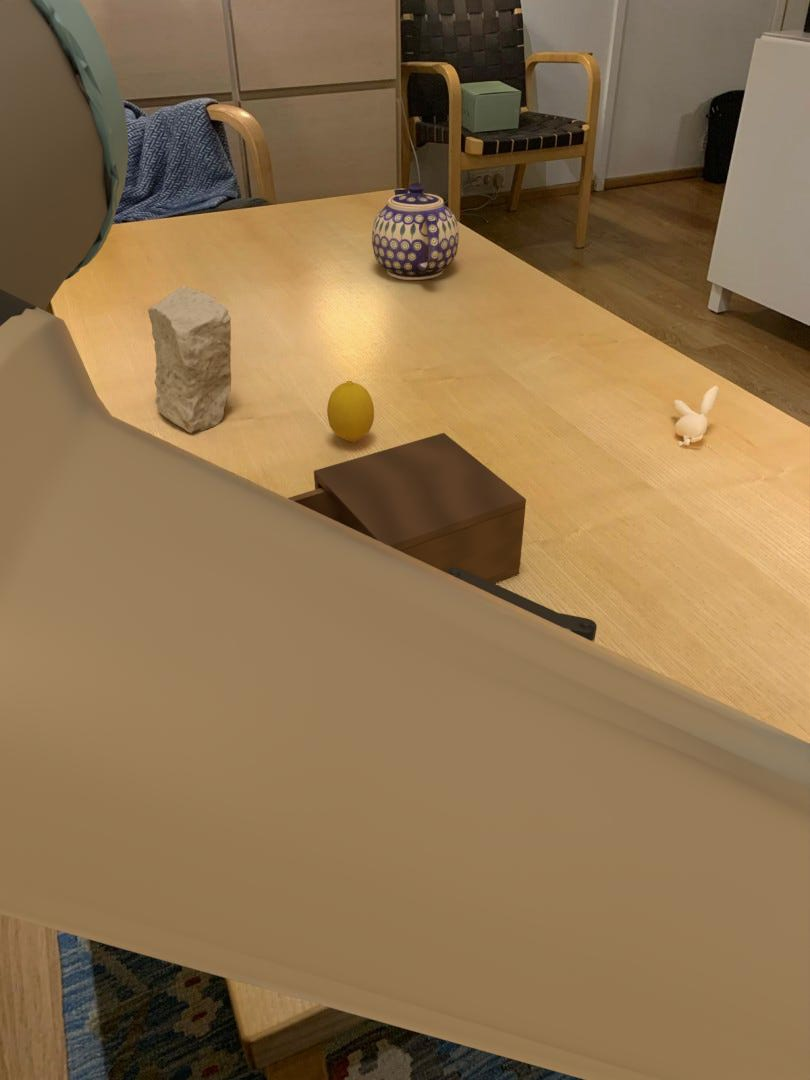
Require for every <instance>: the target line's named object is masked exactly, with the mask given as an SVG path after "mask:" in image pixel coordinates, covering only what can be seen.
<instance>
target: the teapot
mask: <svg viewBox="0 0 810 1080" xmlns="http://www.w3.org/2000/svg"><path fill="white" fill-rule="evenodd" d="M424 189H425V186H424V184H423V183H420V182H413V183H411V184H409V185H408V188H395V189H394V190H393V191H394V195H393V196H391V197H389V198H388V200H387V203H386V205H384V206H383V208H382V209H380V210H379V211H378V213H377V214H376V216H375V218H374V221H373V225H372V231H371V243H372V244H371V245H372V250H373V255H374V258H375V260H376V262H377V263H378V264H379V265H380V266H381V267H382V268H383V269H385V270H386V273H387V274H388V276H390V277H392V278H394V279H397V280H402V281H403V280H404V281H425V280H431V279H434V278H438V277H439V276H441V275H442V274H443V273H444V270H445V269H446V268H448V267H449V266H450V265H451V264H452V263H453V261H454V260H455V258H456V255H457V252H458V249H459V239H460V234H459V224H458V220H457V218H456V216H455V214H454V213H453V211H452V210H451V209H449V207H447V206H446V204H445V203H444V202H445V201H444V199H443V198H442V197H441V196H438V195H437V194H432V193H424Z"/></svg>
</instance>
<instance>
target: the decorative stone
mask: <svg viewBox="0 0 810 1080" xmlns="http://www.w3.org/2000/svg"><path fill="white" fill-rule="evenodd" d="M147 310H148V318H149V321H150V324H151V335H152V338H153V340H154V353H155V361H156V362H155V363H156V366H155V371H154V373H155V379H154V385H155V388H156V396H155V397H156V398H155V404H156V407H157V411H158V412H159V413H160V414H161V415H162V416H163V417H165V419H167V420H168V421H170V422H172V423H173V424H175V425H176V426H178V427H179V428H181V429H183V430H184V431H186V432H187V433H189V434H194V433H195V434H196V433H197V432H200V431H201V432H202V431H206V430H209V429H210V428H211V429H212V428H214V427H216V426H218V425H220V423H221V422H222V420H223V419H224V414H225V406H226V404H227V401H228V397H229V395H230V393H231V391H232V370H231V369H232V367H231V360H232V359H231V353H232V346H231V339H232V327H231V324H232V323H231V320H232V318H231V316H230V315H229V310H228V308H227V307H226V306H224V305H223V304H222V303H221V302H219V301H218V300H217V299H216V297H215V296H213V295H212V294H210V293H206V292H205V291H203V290H198V289H194V288H193V287H188V286H186V285H182V286H181V287H179V288H177V289H176V290H174V291H173V292H171V293H169V294H168V295H166V296H165V297H164V298H163V299H161V300H160V301H158V302H156V303H154V304H153V305H152V306H150V307H149V308H148V309H147Z"/></svg>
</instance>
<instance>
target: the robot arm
mask: <svg viewBox="0 0 810 1080" xmlns="http://www.w3.org/2000/svg"><path fill="white" fill-rule="evenodd" d="M128 131H129V130H128V122H127V115H126V109H125V103H124V100H123V95H122V93H121V91H120V88H119V84H118V81H117V78H116V73H115V69H114V66H113V64H112V62H111V59H110V57H109V55H108V52H107V50H106V47H105V43H104V41H103V39H102V37H101V35H100V33H99V31H98V29H97V27H96V25H95V23H94V22H93V20H92V18H91V16H90V14H89V12H88V10H87V9H86V7H85V6H84V4H83V3H82V0H0V915H2V916H5V917H8V918H12V919H16V920H19V921H23V922H27V923H30V924H33V925H37V926H41V927H45V928H47V929H50V930H55V931H58V932H61V933H66V934H68V935H72V936H76V937H80V938H83V939H86V940H90V941H94V942H97V943H100V944H104V945H107V946H111V947H115V948H118V949H122V950H124V951H129V952H133V953H136V954H138V955H143V956H147V957H150V958H153V959H157V960H159V961H160V960H161V961H165V962H168V963H171V964H175V965H178V966H181V967H186V968H189V969H192V970H196V971H200V972H203V973H207V974H210V975H214V976H216V977H217V976H218V977H221V978H224V979H228V980H231V981H235V982H238V983H241V984H242V983H243V984H245V985H249V986H253V987H256V988H259V989H263V990H267V991H270V992H273V993H276V994H277V993H278V994H280V995H284V996H288V997H291V998H295V999H298V1000H303V1001H305V1002H308V1003H309V1002H310V1003H312V1004H316V1005H320V1006H323V1007H327V1008H330V1009H334V1010H337V1011H341V1012H344V1013H347V1014H352V1015H355V1016H359V1017H361V1018H366V1019H369V1020H372V1021H376V1022H380V1023H383V1024H386V1025H390V1026H394V1027H397V1028H401V1029H405V1030H408V1031H411V1032H415V1033H419V1034H423V1035H425V1036H430V1037H432V1038H436V1039H440V1040H443V1041H447V1042H451V1043H454V1044H457V1045H458V1044H459V1045H460V1046H461V1045H462V1046H464V1047H468V1048H472V1049H475V1050H478V1051H482V1052H486V1053H490V1054H492V1055H497V1056H500V1057H504V1058H507V1059H511V1060H515V1061H517V1062H521V1063H524V1064H528V1065H532V1066H535V1067H539V1068H542V1069H546V1070H548V1071H549V1070H550V1071H552V1072H556V1073H560V1074H564V1075H567V1076H570V1077H574V1078H577V1079H581V1080H810V743H809V742H808V741H806V740H804V739H801V738H799V737H797V736H795V735H793V734H790V733H788V732H786V731H784V730H782V729H779V728H777V727H776V726H774V725H771V724H770V723H767V722H765V721H763V720H761V719H758V718H756V717H755V716H753V715H750V714H748V713H746V712H743V711H741V710H739V709H737V708H735V707H733V706H730V705H729V704H726V703H724V702H722V701H720V700H718V699H715V698H714V697H711V696H709V695H708V694H706V693H703V692H701V691H699V690H697V689H694V688H692V687H690V686H688V685H686V684H684V683H682V682H680V681H678V680H675V679H673V678H671V677H670V676H668V675H665V674H662V673H660V672H658V671H657V670H655V669H652V668H650V667H648V666H645V665H644V664H641V663H639V662H637V661H635V660H633V659H630V658H629V657H626V656H624V655H622V654H620V653H618V652H617V651H614V650H611V649H609V648H607V647H605V646H604V645H601V644H599V643H597V642H595V640H596V635H597V629H598V626H597V623H596V621H594V620H592V619H590V618H588V617H587V618H586V617H583V616H582V617H581V616H577V615H571V614H566V613H561V612H557V611H555V610H553V609H551V608H549V607H547V606H544V605H543V604H540V603H538V602H536V601H533V600H531V599H529V598H527V597H525V596H523V595H521V594H519V593H516V592H514V591H511V590H509V589H507V588H505V587H503V586H501V585H498V584H497V583H492V582H490V581H487V580H485V579H483V578H481V577H479V576H476V575H474V574H472V573H470V572H468V571H465V570H463V569H461V568H458V567H451V568H448V569H447V570H446V571H445V572H443V571H441V570H439V569H437V568H435V567H433V566H431V565H428V564H426V563H424V562H422V561H420V560H418V559H416V558H414V557H411V556H409V555H407V554H405V553H403V552H401V551H399V550H397V549H394V548H392V547H390V546H388V545H386V544H384V543H382V542H379V541H377V540H375V539H373V538H371V537H369V536H367V535H365V534H362V533H360V532H358V531H356V530H354V529H352V528H350V527H348V526H345V525H343V524H341V523H339V522H337V521H335V520H333V519H330V518H328V517H326V516H324V515H322V514H320V513H318V512H316V511H313V510H311V509H309V508H307V507H305V506H303V505H301V504H299V503H296V502H294V501H292V500H290V499H288V498H289V497H286V496H284V495H282V494H280V493H277V492H275V491H273V490H271V489H269V488H266V487H264V486H262V485H260V484H258V483H256V482H253V481H252V480H250V479H247V478H245V477H243V476H241V475H239V474H236V473H235V472H232V471H231V470H228V469H226V468H224V467H222V466H219V465H218V464H216V463H213V462H212V461H209V460H208V459H205V458H203V457H201V456H198V455H196V454H194V453H193V452H190V451H189V450H186V449H183V448H182V447H179V446H177V445H175V444H173V443H171V442H169V441H166V440H165V439H162V438H160V437H158V436H156V435H154V434H152V433H150V432H147V431H145V430H143V429H141V428H138V427H136V426H134V425H132V424H131V423H128V422H126V421H124V420H122V419H120V418H117V417H116V416H113V415H112V414H111V413H110V411H109V409H108V408H107V407H106V405H105V404H104V402H103V401H102V399H100V397H99V395H98V393H97V391H96V389H95V387H94V385H93V382H92V379H91V378H90V375H89V373H88V371H87V368H86V367H85V364H84V362H83V360H82V357H81V355H80V353H79V350H78V348H77V346H76V344H75V341H74V339H73V336H72V335H71V332H70V330H69V328H68V326H67V323H66V321H65V320H64V319H62V318H60V317H58V316H56V315H54V314H52V313H51V312H48V311H46V309H47V307H48V306H49V304H50V303H51V302H52V300H53V298H54V297H55V295H56V294H57V292H58V290H59V289H60V288H61V286H62V285H63V283H64V282H65V281H66V280H69V279H71V278H72V277H73V276H75V275H76V274H78V273H79V272H80V270H81V269H82V268H83V267H84V268H85V267H86V266H87V265H88V264H90V263H91V262H92V260H94V258H95V257H96V256H97V255H98V253H99V252H100V250H101V249H102V248H103V246H104V244H105V242H106V241H107V239H108V236H109V233H110V232H111V229H112V227H113V224H114V221H115V217H116V213H117V210H118V208H119V205H120V202H121V199H122V197H123V191H124V188H125V185H126V179H127V172H128V165H129V164H128V161H129V135H128V134H129V132H128Z"/></svg>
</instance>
